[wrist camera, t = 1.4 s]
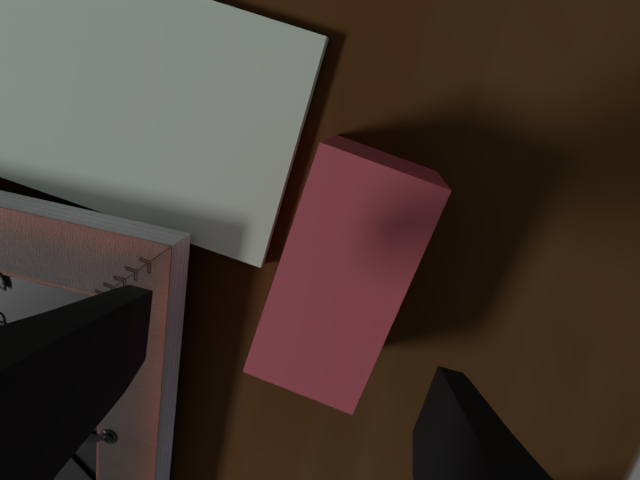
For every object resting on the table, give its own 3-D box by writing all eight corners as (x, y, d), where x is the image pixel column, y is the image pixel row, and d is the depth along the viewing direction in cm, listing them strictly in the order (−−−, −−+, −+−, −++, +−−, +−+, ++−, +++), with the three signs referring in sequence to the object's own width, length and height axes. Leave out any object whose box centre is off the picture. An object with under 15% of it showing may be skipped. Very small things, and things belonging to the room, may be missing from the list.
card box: (337, 134, 19) (320, 142, 14) (436, 170, 19) (451, 190, 14) (274, 314, 22) (242, 371, 17) (360, 348, 22) (352, 414, 17)
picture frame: (165, 565, 27) (195, 229, 20) (143, 609, 25) (170, 247, 18) (-80, 493, 29) (-129, 157, 22) (-122, 528, 27) (-192, 165, 20)
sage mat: (328, 38, 18) (326, 36, 17) (264, 263, 21) (260, 267, 20) (-14, -70, 19) (-26, -76, 18) (-29, 161, 22) (-40, 163, 21)
